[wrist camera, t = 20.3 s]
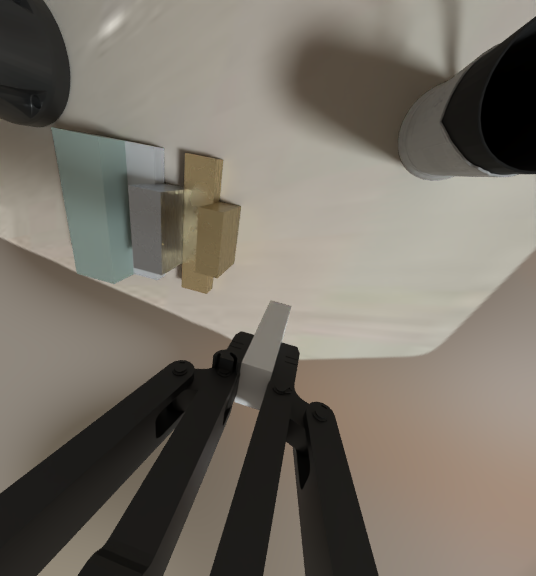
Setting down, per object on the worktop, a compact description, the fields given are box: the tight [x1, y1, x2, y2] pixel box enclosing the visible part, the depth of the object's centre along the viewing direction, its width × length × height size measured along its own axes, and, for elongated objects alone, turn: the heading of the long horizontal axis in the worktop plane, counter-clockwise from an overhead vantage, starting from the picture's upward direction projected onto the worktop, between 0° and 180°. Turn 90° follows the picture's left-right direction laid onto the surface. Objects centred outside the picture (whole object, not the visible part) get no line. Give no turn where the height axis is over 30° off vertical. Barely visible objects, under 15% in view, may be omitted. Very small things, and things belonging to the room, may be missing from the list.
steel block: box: [128, 183, 184, 275], centre depth 33 cm, size 4×10×7 cm, turn 170°
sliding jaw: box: [182, 153, 241, 294], centre depth 33 cm, size 7×18×6 cm, turn 170°
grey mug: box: [398, 17, 536, 180], centre depth 18 cm, size 9×14×15 cm, turn 157°
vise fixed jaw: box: [51, 127, 165, 284], centre depth 34 cm, size 10×18×6 cm, turn 170°
